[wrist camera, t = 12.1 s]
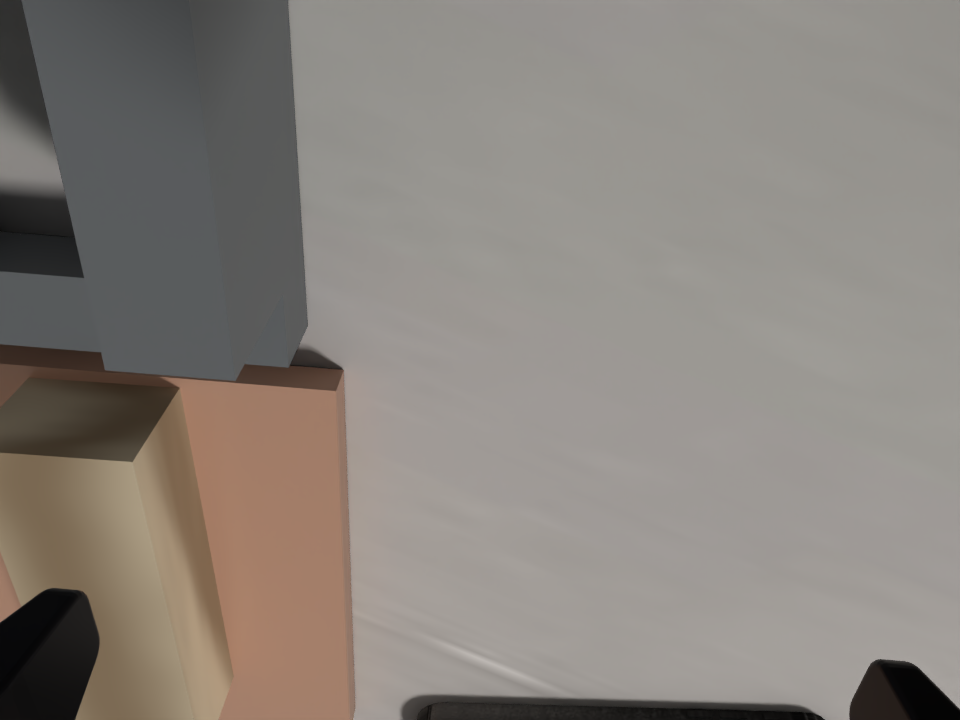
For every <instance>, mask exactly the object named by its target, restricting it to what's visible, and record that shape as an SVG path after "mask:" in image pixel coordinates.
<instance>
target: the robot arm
mask: <svg viewBox="0 0 960 720" xmlns="http://www.w3.org/2000/svg"><path fill="white" fill-rule="evenodd" d="M99 646H100V637H99V632H98V629H97V625H96V622H95V619H94V615H93V612H92V608H91V605H90V602H89V599H88V596H87V595H86V594H85V593H84V592H83V591H81V590H74V589H62V588H50V589H46V590H44V591H42V592H41V593H39V594H38V595H36V596H35V597H34V598H32V599H31V600H30V601H28V602H27V603H26V604H24V605H23V606H22V607H20V608H19V609H17V610H16V611H15V612H13V613H12V614H11V615H9V616H8V617H7V618H5V619H4V620H3V621H1V622H0V720H75V719H76V716H77V713H78V711H79V708H80V705H81V702H82V699H83V696H84V694H85V691H86V688H87V685H88V682H89V679H90V677H91V674H92V671H93V668H94V665H95V662H96V659H97V656H98V652H99ZM849 716H850V720H960V709H959V708H958V707H957V706H956V705H955V704H954V703H953V702H952V701H951V700H950V699H949V698H948V697H947V696H946V695H945V694H944V693H943V692H942V691H941V690H940V689H939V688H938V687H937V686H936V685H935V684H934V683H933V682H932V681H931V680H930V679H929V678H928V677H927V676H926V675H925V674H924V673H923V672H922V671H921V670H920V669H919V668H918V667H917V666H915V665H914V664H912V663H909V662H905V661H895V660H883V659H878V660H875V661H874V662H872V663H871V664H870V666H869V667H868V669H867V671H866V673H865V675H864V677H863V679H862V681H861V683H860V685H859V687H858V689H857V691H856V693H855V695H854V697H853V699H852V702H851V705H850V713H849Z"/></svg>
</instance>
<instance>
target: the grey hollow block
mask: <svg viewBox="0 0 960 720" xmlns="http://www.w3.org/2000/svg"><path fill="white" fill-rule="evenodd" d="M21 1H22V5H23V10H24V14H25V18H26V23H27V27H28V32H29V36H30V41H31V45H32V49H33V54H34V58H35V63H36V67H37V71H38V76H39V80H40V85H41V89H42V94H43V98H44V102H45V107H46V111H47V116H48V120H49V124H50V129H51V133H52V138H53V142H54V147H55V151H56V155H57V160H58V164H59V169H60V173H61V178H62V182H63V186H64V191H65V195H66V200H67V204H68V208H69V213H70V217H71V222H72V226H73V231H74V235H75V238H73V237H61V236H48V235H36V234H23V233H11V232H0V344H4V345H16V346H28V347H40V348H53V349H65V350H77V351H90V352H101V354H102V359H103V363H104V368H105V370H107V371H120V372H132V373H144V374H156V375H169V376H181V377H193V378H205V379H218V380H230V381H236V379H237V377H238V376H239V374H240V372H241V370H242V368H243V366H244V364H249V365H261V366H274V367H286V368H289V366H290V364H291V361H292V359H293V357H294V355H295V353H296V350H297V348H298V346H299V344H300V342H301V339H302V337H303V335H304V333H305V331H306V329H307V326H308V320H307V304H306V287H305V271H304V255H303V238H302V222H301V206H300V189H299V173H298V157H297V140H296V124H295V108H294V91H293V75H292V59H291V42H290V26H289V10H288V0H21Z"/></svg>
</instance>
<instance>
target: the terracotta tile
mask: <svg viewBox="0 0 960 720" xmlns="http://www.w3.org/2000/svg"><path fill="white" fill-rule="evenodd" d="M28 378H44V379H58V380H73V381H87V382H101V383H116V384H130V385H145V386H159V387H173V388H180V392H181V397H182V402H183V408H184V413H185V418H186V424H187V429H188V434H189V440H190V445H191V450H192V456H193V461H194V467H195V472H196V477H197V483H198V488H199V493H200V499H201V504H202V509H203V515H204V520H205V525H206V531H207V536H208V542H209V547H210V552H211V558H212V563H213V568H214V574H215V579H216V584H217V590H218V595H219V600H220V606H221V611H222V617H223V622H224V627H225V633H226V638H227V643H228V649H229V654H230V659H231V665H232V670H233V675H234V677H233V680H232V683H231V686H230V688H229V691H228V694H227V697H226V700H225V702H224V705H223V708H222V711H221V714H220V717H219V719H218V720H353V717H354V712H355V682H354V654H353V625H352V596H351V567H350V538H349V509H348V480H347V452H346V423H345V394H344V370H338V369H326V368H314V367H302V366H289V368H286V367H274V366H261V365H249V364H244V366H243V368H242V370H241V372H240V374H239V376H238V377H237V379H236V381H230V380H218V379H205V378H193V377H181V376H169V375H156V374H144V373H132V372H120V371H107V370H105V368H104V363H103V359H102V354H101V352H90V351H77V350H65V349H53V348H40V347H28V346H16V345H4V344H0V408H1V407H2V406H3V404H4V403H5V402H6V401H7V400H8V399H9V398H10V397H11V396H12V395H13V394H14V393H15V392H16V390H17V389H18V388H19V387H20V386H21V385H22V384H23V383H24V382H25V381H26V380H27V379H28ZM20 607H21V604H20V602H19V599H18V597H17V594H16V591H15V589H14V586H13V584H12V581H11V578H10V576H9V573H8V571H7V568H6V565H5V563H4V560H3V558H2V555H1V552H0V622H1V621H3V620H4V619H5V618H7V617H8V616H9V615H11V614H12V613H13V612H15V611H16V610H17V609H19V608H20Z"/></svg>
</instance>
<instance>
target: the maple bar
mask: <svg viewBox="0 0 960 720" xmlns="http://www.w3.org/2000/svg"><path fill="white" fill-rule="evenodd" d="M0 552H1V555H2V558H3V560H4V563H5V565H6V568H7V571H8V573H9V576H10V578H11V581H12V584H13V586H14V589H15V591H16V594H17V597H18V599H19V602H20V604H21V607H22V606H23V605H24V604H26V603H27V602H28V601H30V600H31V599H32V598H34V597H35V596H36V595H38V594H39V593H41V592H42V591H44V590H46V589H50V588H62V589H74V590H81V591H83V592H84V593H85V594H86V595H87V596H88V599H89V602H90V605H91V608H92V612H93V615H94V619H95V622H96V625H97V629H98V632H99V637H100V646H99V652H98V656H97V659H96V662H95V665H94V668H93V671H92V674H91V677H90V679H89V682H88V685H87V688H86V691H85V694H84V696H83V699H82V702H81V705H80V708H79V711H78V713H77V716H76V719H75V720H218V719H219V717H220V714H221V711H222V708H223V705H224V702H225V700H226V697H227V694H228V691H229V688H230V686H231V683H232V680H233V677H234V675H233V670H232V665H231V659H230V654H229V649H228V643H227V638H226V633H225V627H224V622H223V617H222V611H221V606H220V600H219V595H218V590H217V584H216V579H215V574H214V568H213V563H212V558H211V552H210V547H209V542H208V536H207V531H206V525H205V520H204V515H203V509H202V504H201V499H200V493H199V488H198V483H197V477H196V472H195V467H194V461H193V456H192V450H191V445H190V440H189V434H188V429H187V424H186V418H185V413H184V408H183V402H182V397H181V392H180V388H173V387H159V386H145V385H130V384H116V383H101V382H87V381H73V380H58V379H44V378H28V379H27V380H26V381H25V382H24V383H23V384H22V385H21V386H20V387H19V388H18V389H17V390H16V392H15V393H14V394H13V395H12V396H11V397H10V398H9V399H8V400H7V401H6V402H5V403H4V404H3V406H2V407H1V408H0Z"/></svg>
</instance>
